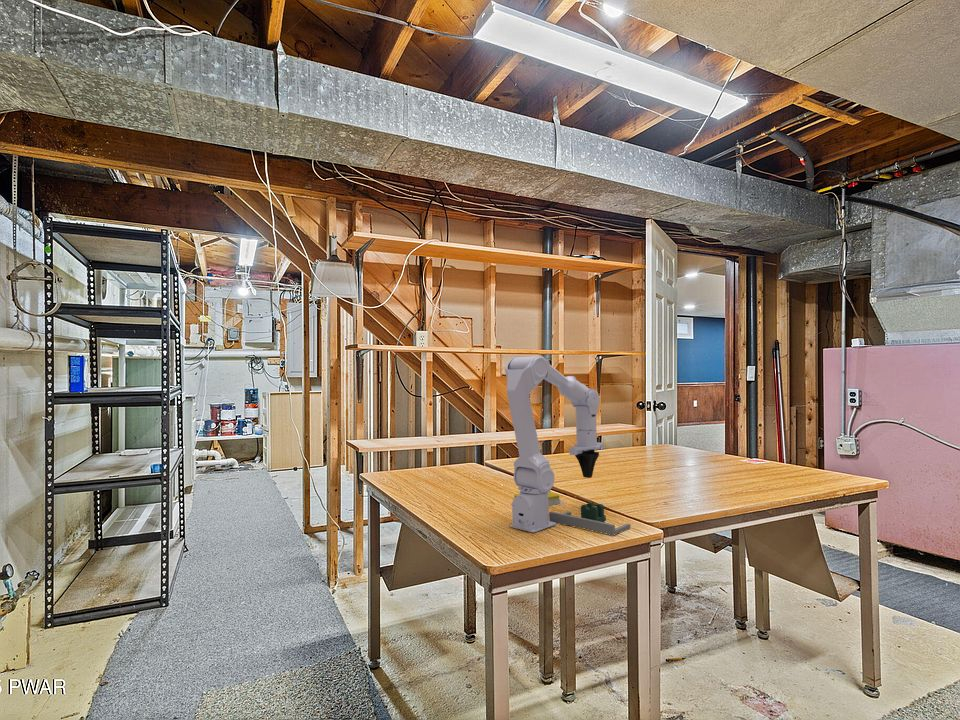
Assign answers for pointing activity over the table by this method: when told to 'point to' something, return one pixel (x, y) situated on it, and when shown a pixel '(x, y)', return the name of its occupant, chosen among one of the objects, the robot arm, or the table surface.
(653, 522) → the table surface
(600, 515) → the mount
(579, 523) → the u-shaped gray bracket
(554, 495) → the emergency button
